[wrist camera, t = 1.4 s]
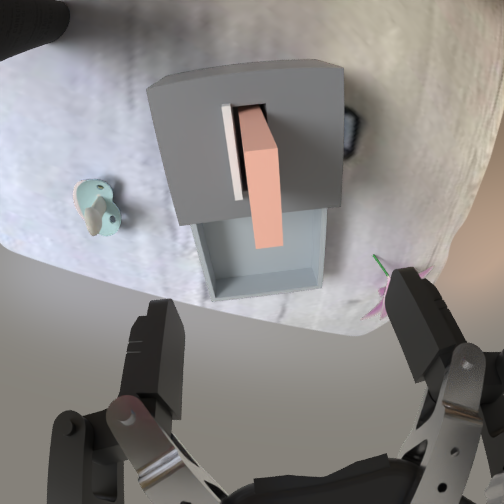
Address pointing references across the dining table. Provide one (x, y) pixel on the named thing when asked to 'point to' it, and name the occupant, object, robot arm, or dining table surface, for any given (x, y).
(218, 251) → the bin
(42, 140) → the dining table surface
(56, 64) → the dining table surface
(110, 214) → the pacifier
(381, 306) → the lily
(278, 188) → the tall pink plank
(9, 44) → the drinking cup
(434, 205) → the dining table surface
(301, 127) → the dispenser
